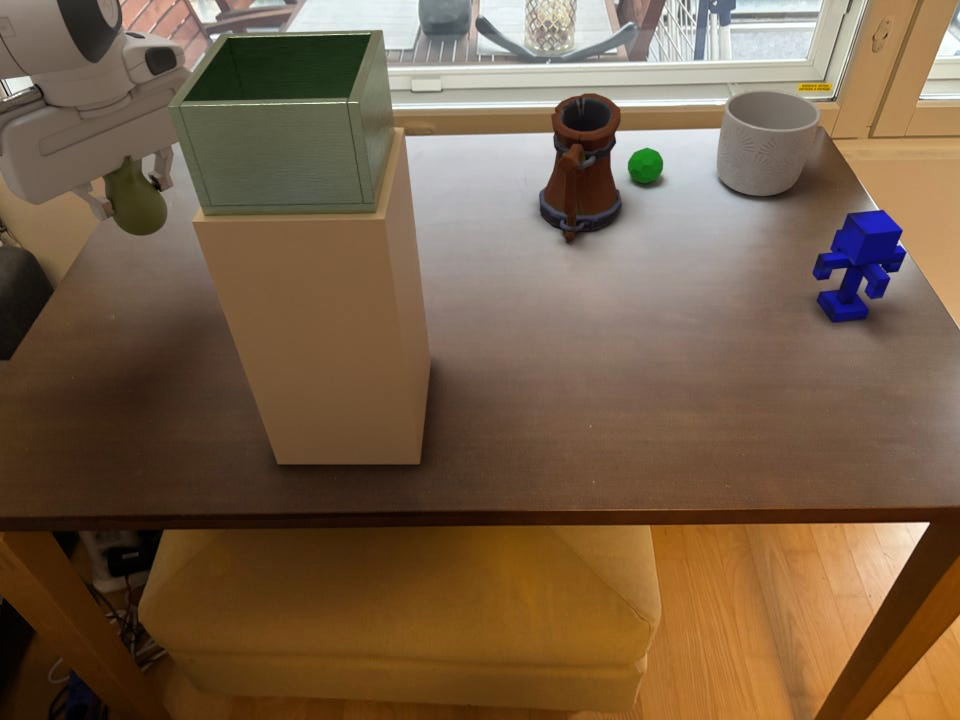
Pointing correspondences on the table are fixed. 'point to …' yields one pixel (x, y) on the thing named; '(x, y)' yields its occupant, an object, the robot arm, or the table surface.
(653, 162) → the polyhedron
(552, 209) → the mug
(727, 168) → the planter
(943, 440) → the table surface
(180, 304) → the table surface
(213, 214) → the bin
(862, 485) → the table surface
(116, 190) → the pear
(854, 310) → the figurine
